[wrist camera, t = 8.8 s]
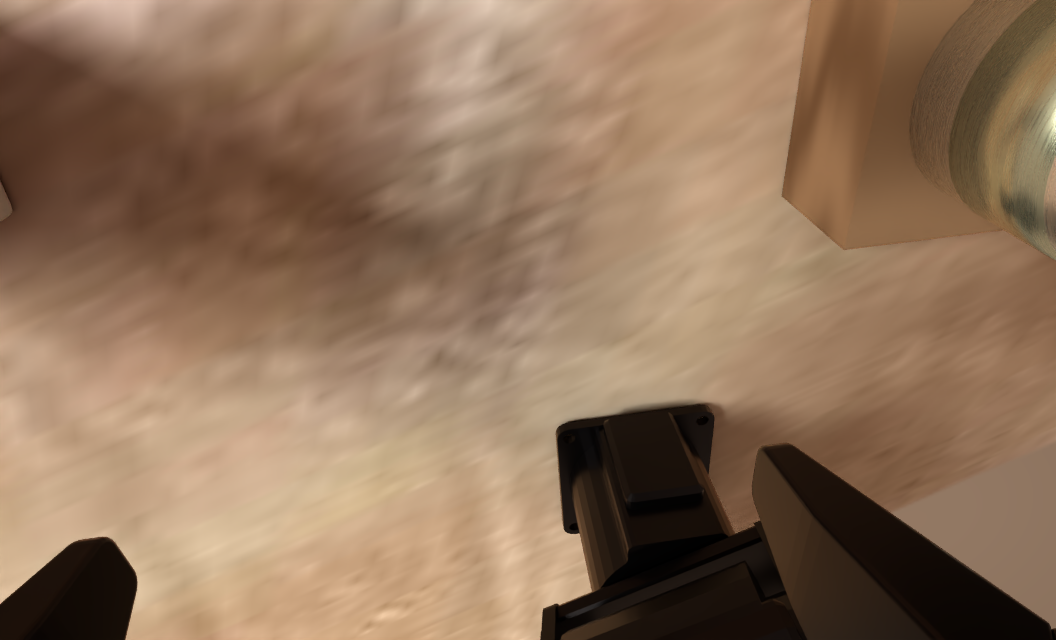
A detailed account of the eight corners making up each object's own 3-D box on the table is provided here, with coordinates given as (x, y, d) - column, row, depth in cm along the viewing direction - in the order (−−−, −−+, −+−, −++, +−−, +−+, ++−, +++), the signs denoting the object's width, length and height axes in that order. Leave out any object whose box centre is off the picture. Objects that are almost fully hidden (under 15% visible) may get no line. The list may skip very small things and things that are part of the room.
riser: (1009, 168, 22) (1112, 216, 18) (781, 196, 21) (843, 250, 18) (1110, -115, 17) (1270, -120, 14) (824, -86, 17) (917, -85, 13)
